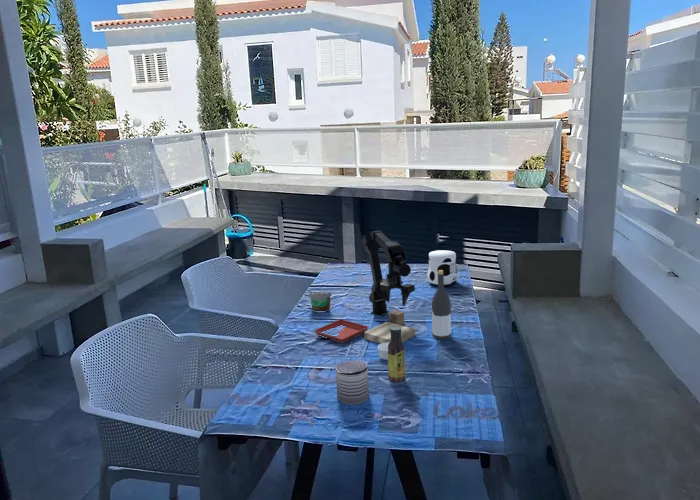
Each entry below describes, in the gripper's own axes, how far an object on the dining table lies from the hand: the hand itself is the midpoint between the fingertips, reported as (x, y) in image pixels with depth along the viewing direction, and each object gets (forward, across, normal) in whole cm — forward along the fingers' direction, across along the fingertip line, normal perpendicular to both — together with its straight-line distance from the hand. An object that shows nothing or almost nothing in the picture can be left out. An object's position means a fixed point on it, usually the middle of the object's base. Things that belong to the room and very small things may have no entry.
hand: (395, 303), depth 256 cm
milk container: (+11, -18, +67) cm, 70 cm away
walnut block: (+10, 0, 0) cm, 10 cm away
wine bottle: (+10, +25, 0) cm, 27 cm away
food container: (+11, -44, -8) cm, 46 cm away
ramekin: (+11, +19, -30) cm, 37 cm away
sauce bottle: (+10, +34, -44) cm, 57 cm away
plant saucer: (+11, -13, -24) cm, 29 cm away
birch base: (+10, +7, -14) cm, 19 cm away
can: (+10, +30, -64) cm, 72 cm away
